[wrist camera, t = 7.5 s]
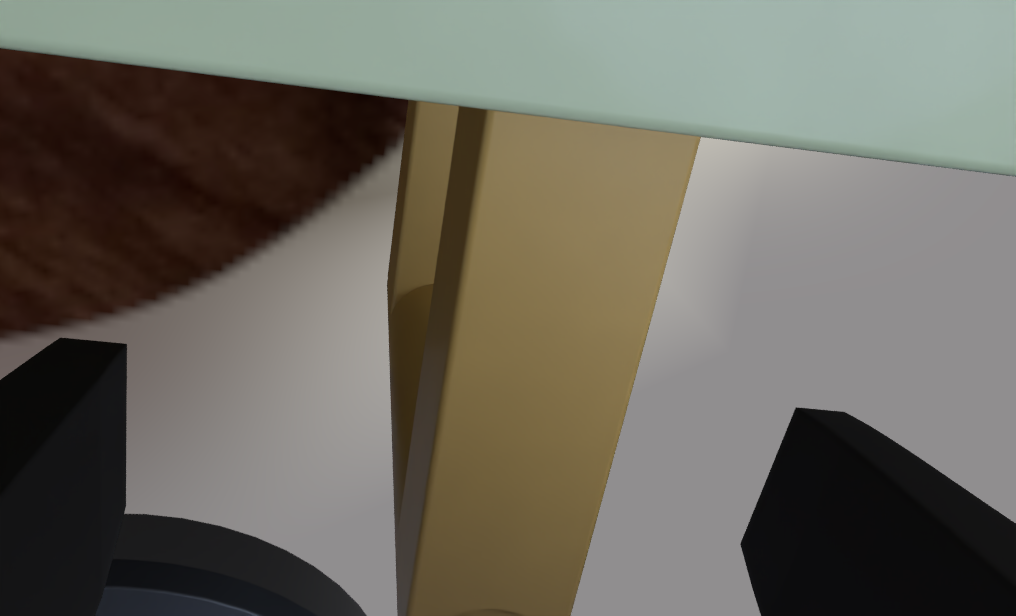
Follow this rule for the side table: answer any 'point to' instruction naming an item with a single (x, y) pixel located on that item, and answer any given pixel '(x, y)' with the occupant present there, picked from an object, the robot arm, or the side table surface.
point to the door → (559, 207)
